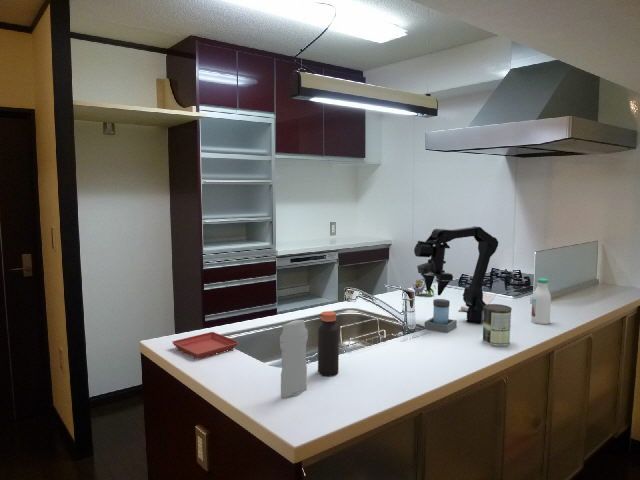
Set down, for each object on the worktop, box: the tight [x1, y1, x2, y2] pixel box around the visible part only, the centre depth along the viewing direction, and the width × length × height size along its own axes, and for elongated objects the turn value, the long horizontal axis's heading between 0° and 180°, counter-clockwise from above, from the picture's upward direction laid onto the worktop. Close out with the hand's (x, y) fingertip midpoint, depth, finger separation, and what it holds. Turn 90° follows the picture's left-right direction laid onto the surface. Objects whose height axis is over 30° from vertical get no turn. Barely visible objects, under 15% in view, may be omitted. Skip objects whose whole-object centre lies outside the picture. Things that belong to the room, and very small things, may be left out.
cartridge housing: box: [423, 316, 458, 333], centre depth 210 cm, size 10×10×3 cm
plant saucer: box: [172, 331, 239, 360], centre depth 180 cm, size 18×18×3 cm
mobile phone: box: [458, 293, 497, 312], centre depth 243 cm, size 6×6×25 cm
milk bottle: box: [530, 277, 552, 325], centre depth 219 cm, size 8×8×20 cm
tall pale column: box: [279, 319, 309, 399], centre depth 141 cm, size 11×4×22 cm, turn 135°
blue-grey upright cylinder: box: [432, 298, 451, 325], centre depth 209 cm, size 7×7×12 cm
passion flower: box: [410, 277, 437, 297], centre depth 274 cm, size 11×11×12 cm
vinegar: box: [317, 310, 340, 377], centre depth 157 cm, size 7×7×20 cm
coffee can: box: [482, 303, 513, 347], centre depth 190 cm, size 10×10×14 cm
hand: (433, 293), depth 212 cm, fingers open, 9 cm apart
